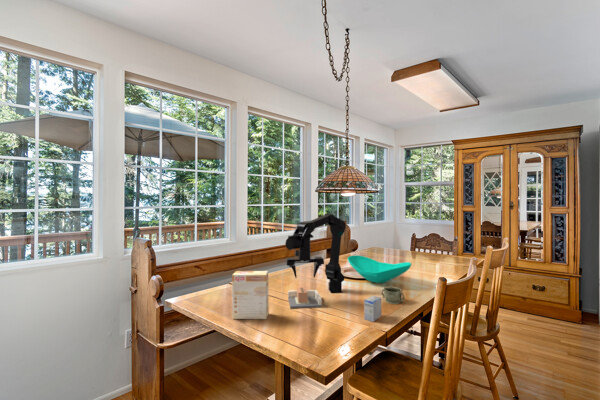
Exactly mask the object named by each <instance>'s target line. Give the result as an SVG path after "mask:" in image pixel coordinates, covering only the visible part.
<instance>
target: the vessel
mask: <svg viewBox="0 0 600 400" xmlns="http://www.w3.org/2000/svg"><path fill="white" fill-rule="evenodd" d="M383 292H384V293H383ZM381 295H382V298H383V299H384V302H385V303H387V304H392V305H398V304H400V303H403V302H404V299H405V294H404V293H403V292H402V289H401V288H400V287H395V286H385V287H384V288H382V289H381Z"/></svg>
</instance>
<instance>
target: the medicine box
mask: <svg viewBox="0 0 600 400" xmlns="http://www.w3.org/2000/svg"><path fill="white" fill-rule="evenodd" d="M363 303H364V305H363V307H364V313H363V314H364V316H363V318H364V320H366V321H368V322H372V323H375V321H377V320H379V319H380V318H381V317H382V297H380V296H378V295H371V296H369V297H368V298H366V299H364V301H363Z"/></svg>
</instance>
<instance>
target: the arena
mask: <svg viewBox="0 0 600 400" xmlns="http://www.w3.org/2000/svg"><path fill="white" fill-rule="evenodd" d="M306 290H307V292H308V303H298V300H297V290H288V291H287V300H288V304H289V309H290V310H292V309H311V308H315V309H316V308H322V306H323V305H322V300H323V299H322V297H321V295H320V292H318V290H317V289H306Z"/></svg>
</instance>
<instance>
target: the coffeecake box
mask: <svg viewBox="0 0 600 400" xmlns="http://www.w3.org/2000/svg"><path fill="white" fill-rule="evenodd" d="M231 279H232V281H231V283H232V285H231V286H232V287H231V289H232V290H231V291H232V294H231V297H232V320H267V319H268V316H269V311H270V310H269V309H270V308H269V307H270V306H269V271H268V270H236V271H234V273H232V275H231Z"/></svg>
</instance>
